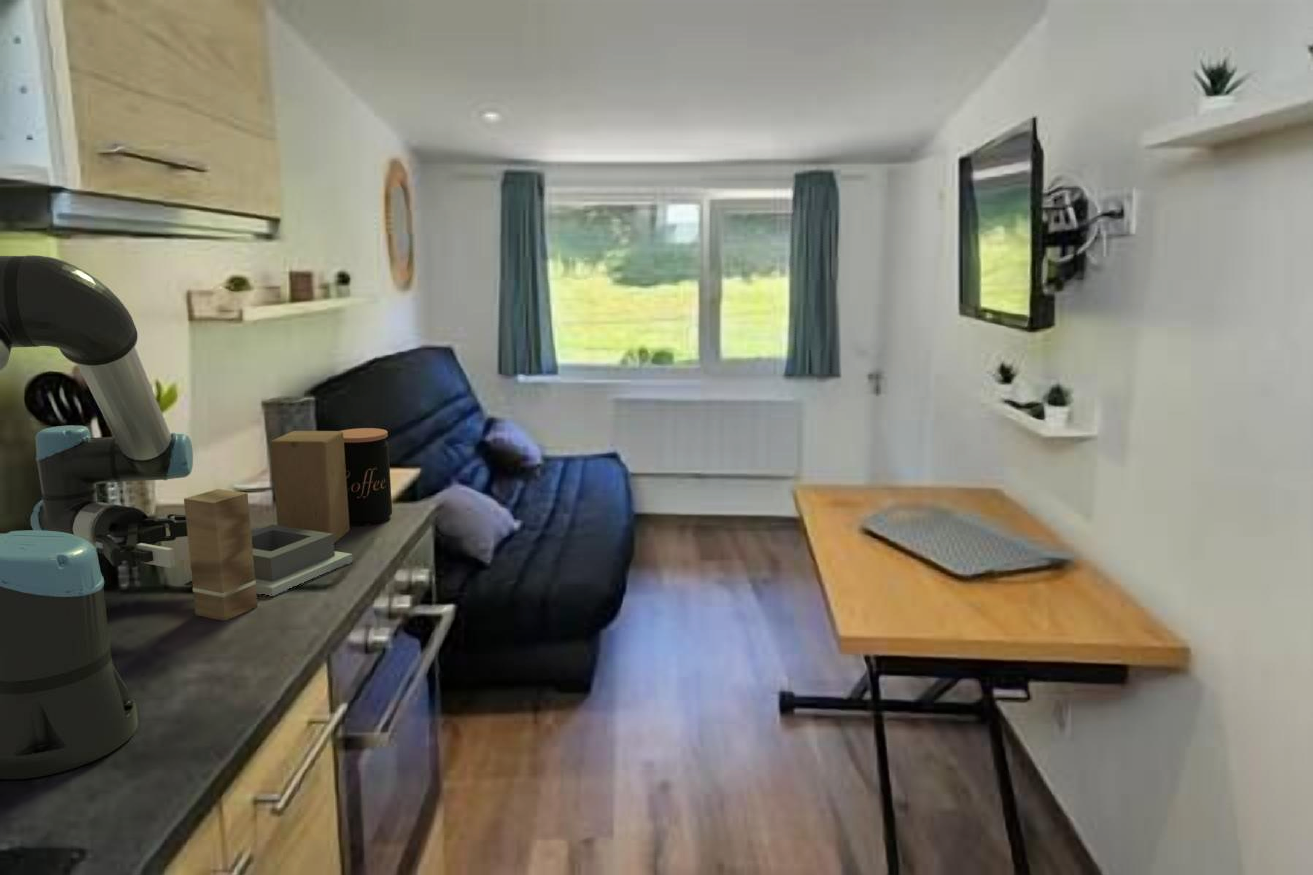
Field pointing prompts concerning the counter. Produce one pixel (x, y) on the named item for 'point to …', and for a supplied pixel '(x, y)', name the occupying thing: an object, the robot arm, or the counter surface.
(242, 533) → the walnut peg
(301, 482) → the wooden block
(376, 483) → the coffee jar
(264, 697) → the counter surface
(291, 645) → the counter surface
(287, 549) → the socket board
